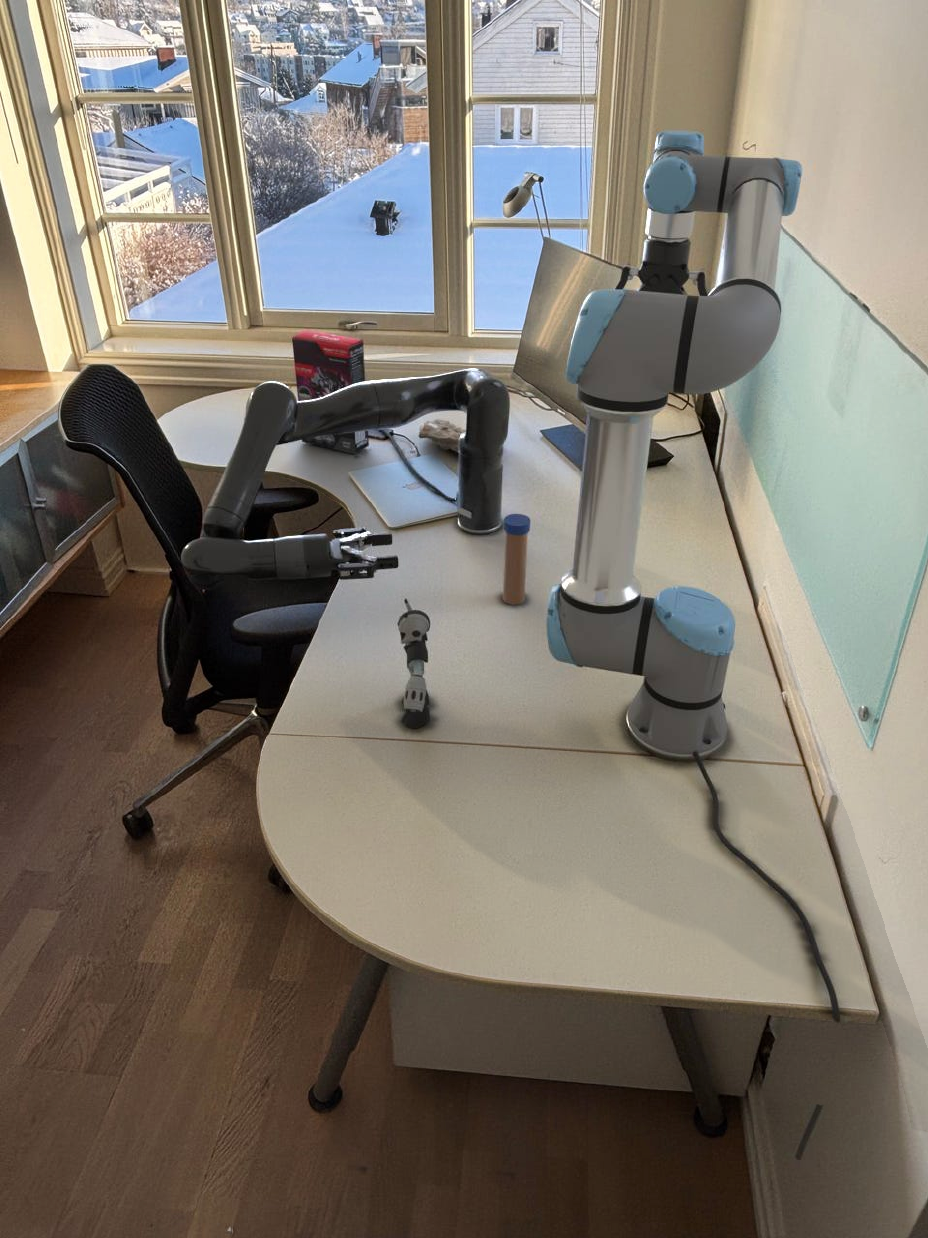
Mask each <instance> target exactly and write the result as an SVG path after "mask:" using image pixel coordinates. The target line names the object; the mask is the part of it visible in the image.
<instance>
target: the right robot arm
mask: <svg viewBox="0 0 928 1238" xmlns="http://www.w3.org/2000/svg"><path fill="white" fill-rule="evenodd" d="M704 147H705V136H704V135H703V133H701V132H699V131H694V130H684V129H683V130H681V129H680V130H679V129H677V130H676V129H672V130H671V129H670V130H662V131H660V132H659V133H658V134H657V135H656V139H655V144H654V149H653V151H652V153H653V161H652V164H650V166H649V167H648V169H647V171H646V173H645V176H644V183H643V195H644V198H645V201H646V202H647V204H648V208H647V212H646V213H647V214H646V222H645V223H646V224H645V234H646V235H647V237H646V238H645V239H644V243H643V250H642V260H641V265H640V267H636V266H632V265H631V264H630V263H625V264H624V265H623V267H622V269H621V273H620V279H619V281H618V283H617V284H616V285H615V287H614V288H613V289H595V290H593V291H591V292H590V293H589V294H588V295H587V296H586V298H585V299H584V301H583V303H582V305H581V308H580V311H579V313H578V316H577V320H576V323H575V327H574V330H573V335H572V339H571V342H570V346H569V352H568V357H567V362H566V373H565V378H566V381H567V382H568V383H571V384H572V385H574V386H575V385H577V394H576V399H577V401H578V402H579V403H580V404H581V406H582V407H583V408H584V409H585V411H586V412H587V413H586V424H585V435H584V445H583V456H582V467H581V478H580V486H579V487H580V489H579V499H578V509H577V520H576V529H575V530H576V532H575V540H574V551H573V552H574V553H573V563H572V568H571V569H569V570H568V571H567V572H565V573H564V574H563V575H562V577H561V580H560V583H559V584H555V585H554V586H552V588H551V590H550V593H549V597H548V601H547V616H546V639H547V645H548V650H549V652H550V655H551V656H552V658H554V659H555V660H556V661H558V662H560V663H564V664H567V665H568V664H569V665H573V666H576V667H577V668H583V667H584V668H588V669H589V668H591V669H596V670H602V671H607V672H608V671H609V672H614V673H620V674H627V675H633V676H638V677H639V676H640V677H643V682H642V684H641V685H640V688H639V689H638V691H637V692H636V694H635V695H634V697H633V699H632V701H631V702H630V704H629V706H628V708H627V711H626V719H625V728H626V732H627V734H628V736H629V738H630V739H631V741H632V742H634V744H636V745H637V746H638V747H639V748H640V749H641V750H643V751H645V752H646V753H648V754H650V755H651V756H654V757H656V758H659V759H662V760H666V761H670V762H675V763H694V762H696V763H697V766H698V768H699V770H700V773H701V775H702V777H703V779H704V781H705V783H706V785H707V787H708V789H709V792H710V794H711V797H712V798H711V799H712V826H713V829H714V831H715V834H716V835H717V838H718V839H719V840H720V841H721V843H722V844H723V845H724V846H725V848H726V849H728V851H730V852H731V853H732V854H733V855H734V856H736V857H737V858H739V860H741V861H742V862H743V863H744V864H745V865H747V866H748V867H749V868H750V869H751V870H752V871H753V872H754V873H756V875H758V877H760V878H761V879H762V880H763V881H764V882H766V883H767V885H768V886H770V887H771V888H772V889H773V890H775V892H777V893H778V894H779V895H780V897H782V898H783V899H784V900H785V901H786V902H787V903H788V904H789V905H790V907H791V908H792V909H793V912H795V913H796V915H797V917H798V918H799V920H800V921H801V923H802V926H803V927H804V930H805V933H806V935H807V939H808V942H809V945H810V948H811V951H812V955H813V958H814V960H815V962H816V966H817V969H818V970H819V972H820V974H821V977H822V979H823V982H824V984H825V986H826V990H827V992H828V996H829V1000H830V1004H831V1005H830V1006H831V1011H832V1018H833V1020H834V1022H836V1023H840V1022H841V1013H840V1006H839V1001H838V997H837V993H836V989H835V987H834V984H833V981H832V979H831V977H830V975H829V972H828V971H827V968H826V966H825V963H824V962H823V959H822V956H821V954H820V951H819V948H818V943H817V940H816V938H815V934H814V932H813V929H812V926H811V925H810V923H809V921H808V918H807V916H806V914H805V913H804V911H803V910H802V908H801V907H800V906H799V905H798V904H797V902H796V901H795V900H794V899H793V897H792V896H790V894H789V893H788V892H787V891H786V890H785V889H783V888H782V886H781V885H779V884H778V883H777V882H776V881H774V880H773V879H772V878H771V877H770V876H769V875H768V874H767V873H766V872H765V871H763V870H762V869H761V868H760V867H759V866H758V865H757V864H756V863H755V862H753V861H752V860H751V859H750V858H749V857H747V856H746V855H745V854H744V853H743V852H741V851H740V850H739V849H737V848H736V847H735V846H734V845H733V844H732V843H731V842H730V841H729V840H728V839H727V838H726V836H725V835H724V833H723V831H722V830H721V828H720V823H719V812H720V805H719V804H720V803H719V798H718V797H719V796H718V793H717V790H716V788H715V787H714V784H713V782H712V779H711V778H710V776H709V773H708V771H707V769H706V767H705V765H704V763H703V760H706V759H709V758H711V757H714V755H716V754H718V752H720V751H721V750H722V748H723V747H724V744H725V743H726V740H727V739H726V738H727V733H728V721H727V716H726V712H725V710H726V709H727V708H726V704H725V703H724V701H723V692H724V686H725V682H726V678H727V677H726V676H727V671H728V666H729V661H730V657H731V652H732V651H733V650H734V646H735V638H734V637H735V631H736V620H735V616H734V614H733V612H732V610H731V608H730V607H729V606H728V605H727V604H726V603H724V602H723V601H722V600H721V599H720V598H719V597H717V596H716V595H714V594H712V593H710V592H708V591H706V590H704V589H700V588H697V587H696V588H695V587H692V586H688V585H687V586H686V585H675V586H674V587H670V586H669V587H666V588H664V589H662V590H660V591H659V592H658V593H657V595H656V596H655V597H654V598H653V597H649V596H648V597H647V596H642V590H643V589H642V584H641V581H640V580H639V579H638V578H637V577H636V576H635V575H634V569H635V561H636V553H637V546H638V539H639V530H640V523H641V517H642V516H641V515H642V507H643V501H644V500H643V499H644V493H645V492H644V491H645V485H646V476H647V471H648V470H647V469H648V462H649V454H650V446H651V438H652V433H653V432H652V431H653V424H654V417H655V416H656V415H657V414H659V413H660V412H661V411H663V410H664V409H665V408H666V407H667V406H668V401H669V394H670V393H671V394H672V393H673V394H683V395H704V394H710V393H713V392H717V391H720V390H723V389H725V388H727V387H729V386H731V385H734V384H735V383H736V382H738V381H739V380H741V379H742V378H744V377H745V376H747V374H749V373H750V372H751V371H752V370H754V369H755V368H756V367H757V366H758V364H759V363H760V362H762V360H763V359H764V358H765V357H766V355H767V354H768V353H769V351H770V349H771V348H772V346H773V344H774V343H775V340H776V339H777V336H778V332H779V330H780V326H781V325H780V324H781V319H782V301H781V298H780V296H779V294H778V293H777V291H776V281H777V273H778V272H777V271H778V262H779V261H778V260H779V251H780V241H781V231H782V219H783V217H788V216H791V215H792V214H793V213H794V212H795V210H796V207H797V203H798V198H799V194H800V188H801V181H802V174H803V165H802V164H801V163H800V161H798V160H796V159H795V160H794V159H784V158H780V157H777V156H776V157H744V156H743V157H742V156H721V155H705V153H704V149H705V148H704ZM696 212H701V213H702V212H703V213H719V214H720V213H722V214H726V219H725V225H724V232H723V236H722V237H723V238H722V243H721V250H720V255H719V261H718V267H717V272H716V278H715V285H714V288H713V289H712V290H711V291H710V292H709V288H708V286H707V281H706V280H707V279H706V278H707V271H706V270H705V268H700V269H699V270H689V259H690V252H691V245H692V241H691V239H689V238H690V237H691V236H692V235H693V230H694V224H695V223H694V222H695V215H696ZM635 276H637V277H638V279H639V280H640V282H641V285H640V286H639V287H638V288H637V289H635V290H634V289H628V288H625V287H626V286H627V282H628V281H632V280H633V279H634V277H635ZM689 280H691V281H692V284H693V285H695V286H697V290H698V291H697V292H698V295H691V294H688V292H687V290H686V289H685V288H684V285H685V284H686V283H687V282H688V281H689ZM823 1108H824V1105H821V1104H817V1103H816V1104H815V1106H814V1109H813V1111H812V1114H811V1116H810V1118H809V1121H808V1123H807V1125H806V1128H805V1130H804V1132H803V1135H802V1136H801V1140H800V1142H799V1145H798V1147H797V1150H796V1153H795V1155H794V1156H795V1159H796V1160H797V1161H801V1160H802V1159H803V1155H804V1153H805V1150H806V1147H807V1145H808V1142H809V1140H810V1138H811V1136H812V1134H813V1131H814V1129H815V1126H816V1124H817V1122H818V1120H819V1118H820V1115H821V1113H822V1111H823Z"/></svg>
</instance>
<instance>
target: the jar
mask: <svg viewBox="0 0 928 1238" xmlns="http://www.w3.org/2000/svg"><path fill="white" fill-rule="evenodd" d="M504 533H505V535H504V559H503V584H502V585H503V588H502V600H503V602H504V603H506V604H508V605H511V606H517V605H521V604H522V603H524V602H525V596H526V576H527V557H528V538H529V535H528V534H529V532H528V533H526V534H523V535H512V534H509V533H507V532H505V531H504Z"/></svg>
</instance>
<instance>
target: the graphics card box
mask: <svg viewBox="0 0 928 1238" xmlns="http://www.w3.org/2000/svg"><path fill="white" fill-rule="evenodd" d="M291 343H292V352H293V361H294V372H295V373H294V374H295V383H296V392H297V401H308V400H314V399H318V398H321V397H324V396H327V395H329V394H331V393H334V392H336V391H338V390H341V389H343V388H346V387H348V386H351V385H353V384H356V383H360V382H366V370H365V349H364V348H365V347H364V340H363V338H355V337H350V336H344V335H338V334H334V333H327V332H322V331H318V330H317V331H316V330H311V329H304V330H301V331H299V332H297V333H295V335H293V336H292V337H291ZM301 442H302V443H306V444H310V445H314V446H318V447H324V448H327V449H332V450H336V451H339V452H344V453H349V454H353V455H355V454H358V453H359V452H361V451H363V450H365V449H366V448H367V447H369V446H370V440H369V431H360V432H351V433H343V434H332V435H323V436H317V437H312V438H308V439H303V440H301Z"/></svg>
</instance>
